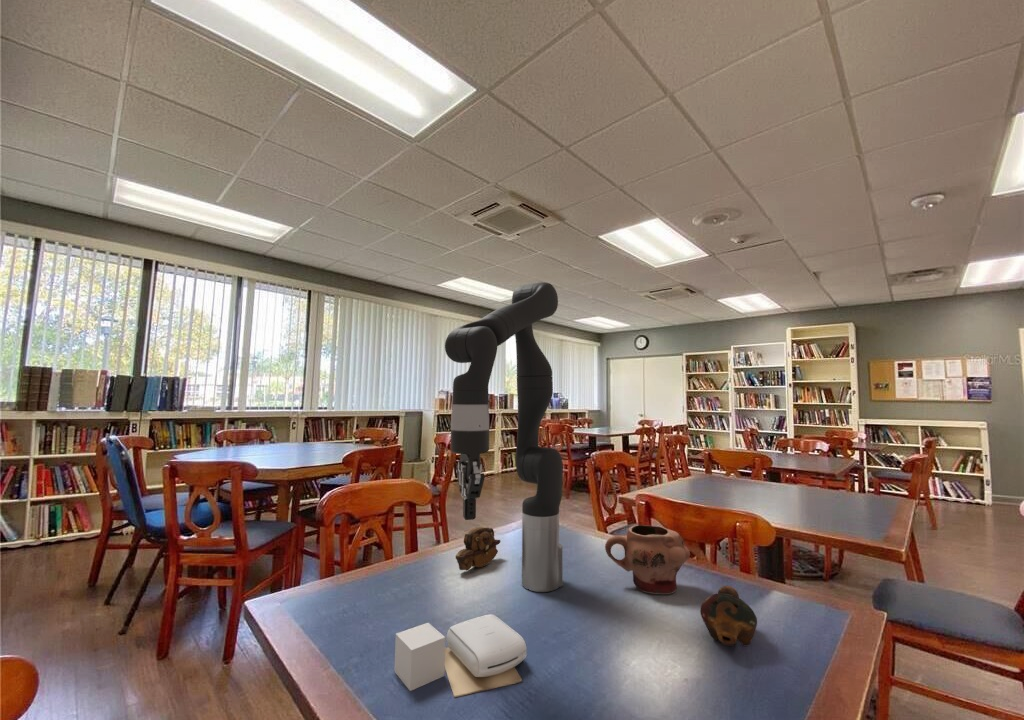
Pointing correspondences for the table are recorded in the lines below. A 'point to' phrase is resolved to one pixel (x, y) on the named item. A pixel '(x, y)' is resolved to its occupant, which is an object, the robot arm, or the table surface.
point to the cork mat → (468, 683)
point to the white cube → (419, 655)
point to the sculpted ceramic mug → (651, 557)
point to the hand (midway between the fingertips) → (469, 518)
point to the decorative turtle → (728, 617)
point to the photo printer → (486, 645)
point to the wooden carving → (477, 548)
